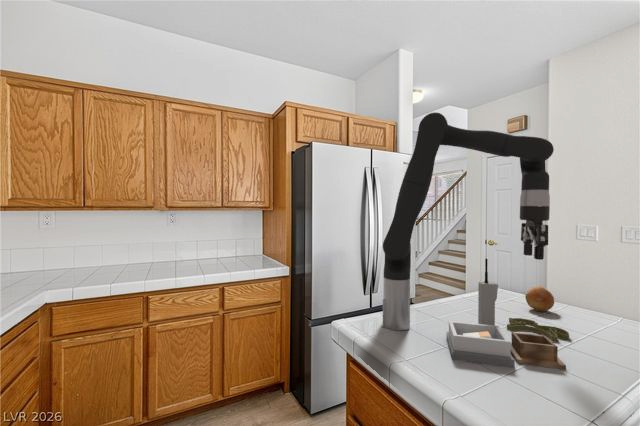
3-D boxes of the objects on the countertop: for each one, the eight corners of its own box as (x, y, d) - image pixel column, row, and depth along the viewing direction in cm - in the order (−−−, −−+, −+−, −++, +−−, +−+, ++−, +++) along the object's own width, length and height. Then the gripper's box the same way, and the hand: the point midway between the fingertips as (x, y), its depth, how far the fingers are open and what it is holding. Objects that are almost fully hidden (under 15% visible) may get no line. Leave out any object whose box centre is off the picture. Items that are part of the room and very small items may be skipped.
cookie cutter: (500, 329, 106) (500, 323, 106) (511, 321, 114) (511, 315, 114) (565, 346, 93) (565, 339, 93) (573, 335, 101) (573, 329, 101)
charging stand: (517, 363, 81) (517, 344, 81) (505, 345, 92) (505, 329, 92) (566, 369, 78) (566, 350, 78) (547, 350, 88) (547, 333, 88)
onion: (520, 306, 131) (520, 283, 131) (545, 307, 130) (545, 284, 130) (532, 313, 121) (533, 289, 121) (560, 315, 120) (560, 290, 120)
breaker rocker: (465, 343, 87) (464, 338, 87) (463, 338, 91) (462, 333, 91) (492, 341, 85) (491, 336, 85) (488, 336, 89) (487, 330, 89)
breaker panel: (452, 359, 83) (452, 337, 83) (446, 337, 98) (446, 319, 98) (514, 367, 79) (514, 344, 79) (498, 343, 93) (498, 324, 93)
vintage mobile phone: (498, 334, 100) (498, 259, 100) (481, 333, 101) (482, 259, 101) (493, 330, 104) (494, 258, 104) (478, 329, 105) (478, 257, 105)
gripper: (513, 205, 101) (511, 253, 101) (529, 204, 88) (527, 259, 88) (539, 205, 99) (537, 255, 99) (559, 204, 85) (558, 261, 86)
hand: (533, 257), depth 94 cm, fingers open, 8 cm apart
